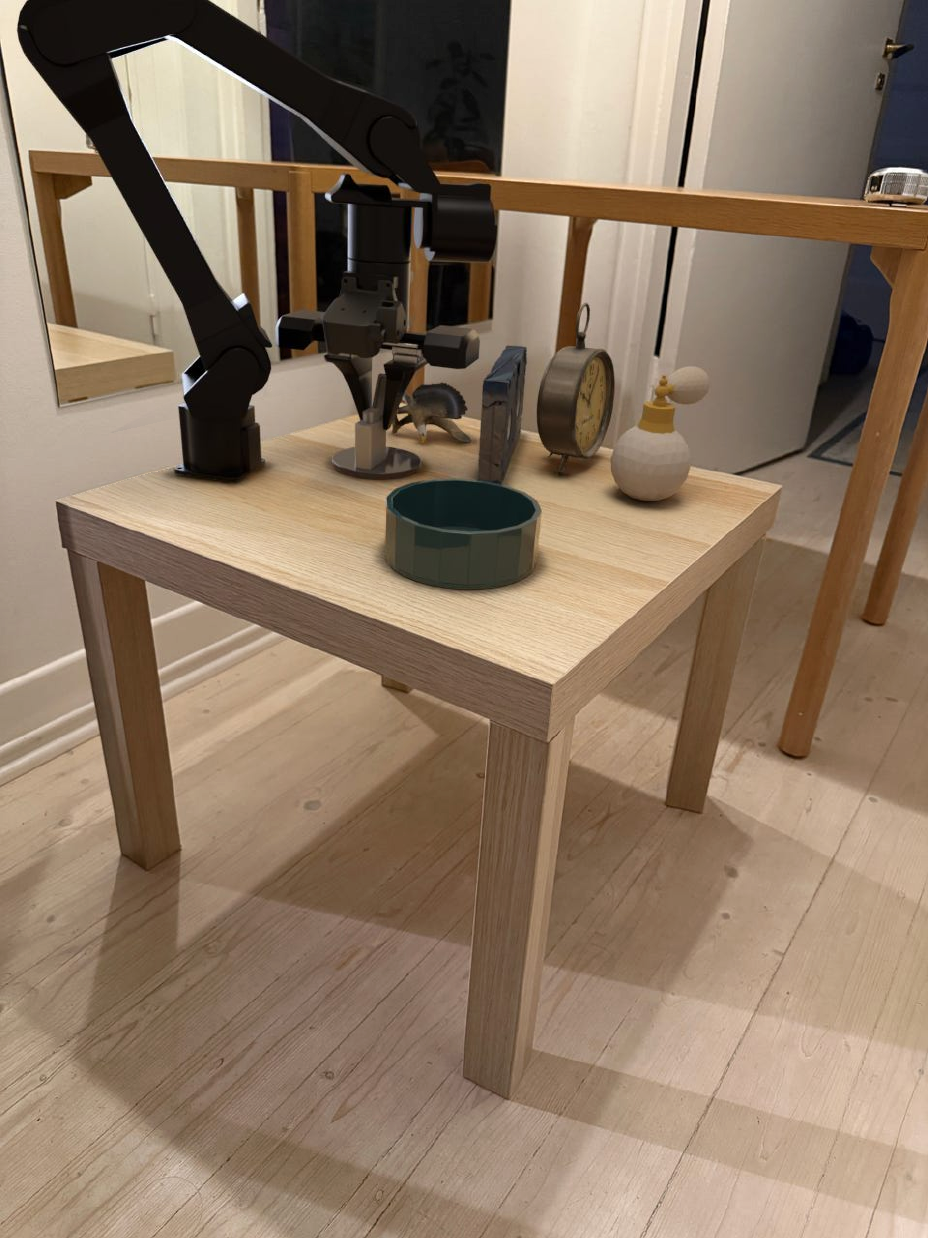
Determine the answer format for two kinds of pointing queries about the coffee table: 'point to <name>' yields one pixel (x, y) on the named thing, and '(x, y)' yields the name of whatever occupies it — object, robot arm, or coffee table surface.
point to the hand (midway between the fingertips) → (376, 427)
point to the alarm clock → (576, 399)
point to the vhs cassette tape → (501, 413)
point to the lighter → (371, 431)
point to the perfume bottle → (658, 441)
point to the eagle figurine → (433, 410)
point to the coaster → (391, 467)
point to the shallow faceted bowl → (461, 533)
